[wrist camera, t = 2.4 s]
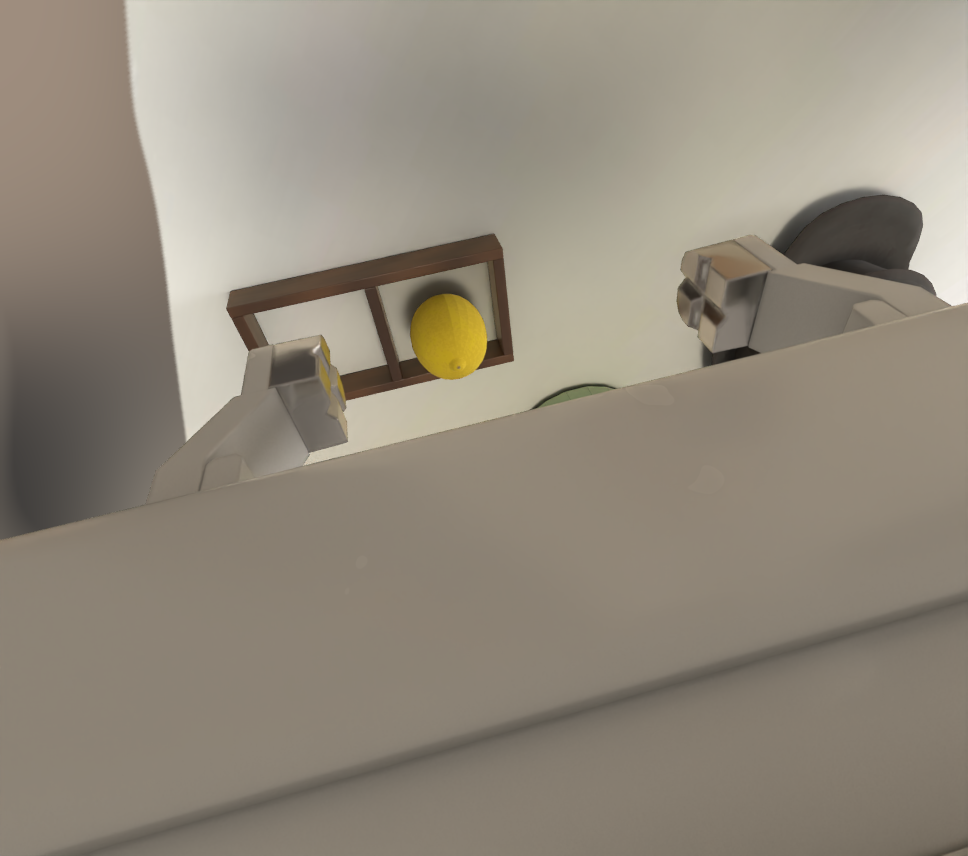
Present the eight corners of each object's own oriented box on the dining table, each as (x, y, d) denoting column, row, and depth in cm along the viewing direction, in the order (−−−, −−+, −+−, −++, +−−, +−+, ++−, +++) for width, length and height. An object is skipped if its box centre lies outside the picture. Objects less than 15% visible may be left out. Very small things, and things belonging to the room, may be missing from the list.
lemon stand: (494, 233, 39) (502, 247, 38) (506, 344, 46) (514, 361, 45) (229, 291, 38) (225, 308, 36) (283, 397, 45) (282, 415, 43)
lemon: (486, 313, 44) (511, 372, 38) (429, 348, 45) (445, 411, 39) (451, 261, 40) (473, 318, 34) (390, 301, 41) (401, 362, 36)
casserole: (812, 411, 62) (864, 464, 56) (666, 426, 58) (706, 484, 52) (956, 186, 45) (1053, 227, 40) (765, 185, 42) (840, 230, 36)
